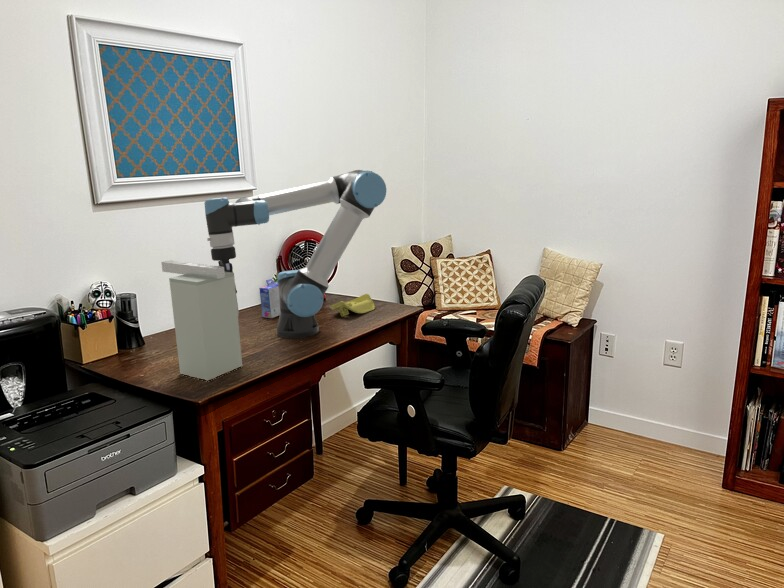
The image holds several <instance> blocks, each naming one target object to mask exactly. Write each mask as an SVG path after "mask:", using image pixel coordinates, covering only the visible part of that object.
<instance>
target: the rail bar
mask: <svg viewBox="0 0 784 588" xmlns="http://www.w3.org/2000/svg"><path fill="white" fill-rule="evenodd" d="M161 268H162V269H161V270H162V273H169V274H177V275H191V276H199V277H206V278H213V279H219V278H223V277H225V273H224V267H221V266H219V265H213V264H204V263H194V262H186V261H178V260H172V259H169V260H165V261H161Z"/></svg>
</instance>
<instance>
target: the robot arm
mask: <svg viewBox="0 0 784 588" xmlns="http://www.w3.org/2000/svg"><path fill="white" fill-rule="evenodd" d="M386 185H387V184H386V183H385V180H384V179H383V178H382V176H381V175H379V174H378V173H376V172H373V171H372V170H363V169H356V170H352V171H347V172H346V173H342V174H339V175H334V176H331V177H330V178H329V179H328V180H325V181H321V182H316V183H311V184H305V185H302V186H298V187H297V186H296V187H292V188H287V189H282V190H277V191H273V192H268V193H263V194H258V195H253V196H250V197H249V196H248V197H246V196H242V197H239V198H238V199H237V200H236V201H235V202H230V201H229V198H228V197H216V198H215V197H214V198H207V199H206V200H205V201H204V210H205V212H204V214H205V221H206V225H207V227H206V228H207V233H208V237H207V238H206V240H207V242H209V246H210V248H211V249H210V254H211V255H210V256H211V260H212V261H217V263H218V266H221V267H224V272H232V273H234V271H233V264H232V263H230V260H233V259H236V257H237V253H236V247H235V246H234V245H235V244H236V243H235V238H234V231H233V228H235V227H243V226H252V225H253V226H254V225H255V226H256V225H258V226H260V225H261V224H268V223H269V221H270V216H273V215H278V214H283V213H287V212H292V211H297V210H301V209H307V208H311V207H316V206H321V205H324V204H330V203H334V204H336V205H339V204H340V207H339V209H338V210H337V212H336V213H335V216H334V217H333V219H332V221H331V222H330V224H329V226H328V228H327V229H326V231H325V233H324V235H323V236H322V237H321V240H320V241H319V243H318V245H317V247H316V248H315V250H314V252H313V254H312V255H311V257H310V259H309V260H308V262H307V264H306V265H305V266H304V267H303V268H299V269H294V270H293V269H292V270H284V271H281V272H279V273H278V274H277V283H278V287H279V301H280V315H279V317H278V320H277V326H276V335H277V336H278V337H281V338H284V339H304V338H310V337H312V336H315V335H316V334H318V333H319V331H320V329H319V323H318V321H317V318H316V314H317V313H318V312H319V311H320V310H321V309H322V308H323V304H324V296H325V294H326V292H327V291H328V289H329V282H328V281H329V280H328V279H329V278H330V277H331V275H332V273H333V271H334V269H335V268H336V266H337V265H338V262H339V261H340V259H341V258H342V256H343V254H344V252H345V251H346V248H347V247H348V245H349V244H350V242H351V240H352V239H353V237H354V235H355V233H356V232H357V230H358V228H359V226H360V225H361V223H362V222H363V220H365V219H367V218H370V216H371V215H372V213H373V211H374V209H375V208H377V207H378V206H380V205H382V203H383V202H384V200H385V199H386V195H387V186H386ZM235 290H236V294H237V293H238V290H237V286H236V284H235ZM236 301H237V312H238V316H240V310H239V303H238V297H237V295H236Z"/></svg>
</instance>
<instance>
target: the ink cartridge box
mask: <svg viewBox="0 0 784 588" xmlns="http://www.w3.org/2000/svg"><path fill="white" fill-rule="evenodd" d="M265 282H266V284H267V285H264V286H262V287H259V296H260V305H261V315H262V317H263V318H266V319H267V318H268V319H273V318H276V317H278V316H279V317H280V301H279V287H278V282H274V280H273V279H272V278H270V279H266V280H265Z"/></svg>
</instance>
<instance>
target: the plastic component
mask: <svg viewBox="0 0 784 588" xmlns="http://www.w3.org/2000/svg"><path fill="white" fill-rule="evenodd" d="M329 308H330V309H331V310H332V311H334V310H338V311H339V314H340V316H341V318H342V317H344V316H347V315H349V314H350V311H351V312H352V313H353V312H354V313H356V314H366V313H369V312H371V311H373V310H375V308H376V305H375V303H374V301H373V298H372V297H371V296H370V294H369V293H364V294H362V295H360V296H358V297H356V298H353V299H351V300H348V301H347V300H346V301H343V300H340V301H338V302H336V303H333V304H331V305H329Z"/></svg>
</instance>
